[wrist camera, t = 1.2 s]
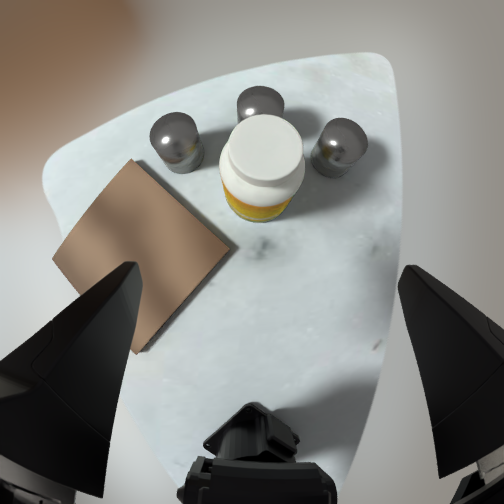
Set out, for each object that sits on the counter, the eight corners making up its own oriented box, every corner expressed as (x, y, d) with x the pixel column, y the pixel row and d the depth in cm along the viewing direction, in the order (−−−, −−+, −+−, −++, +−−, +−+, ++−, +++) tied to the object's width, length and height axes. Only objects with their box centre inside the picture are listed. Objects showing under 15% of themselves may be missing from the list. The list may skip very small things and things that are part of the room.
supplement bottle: (226, 162, 24) (217, 101, 15) (288, 164, 24) (312, 106, 15) (224, 224, 24) (211, 191, 14) (289, 225, 24) (318, 194, 14)
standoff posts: (350, 179, 24) (370, 161, 20) (162, 174, 24) (146, 154, 19) (344, 121, 25) (360, 96, 20) (169, 115, 24) (158, 89, 20)
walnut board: (139, 352, 23) (136, 354, 22) (56, 259, 23) (51, 258, 22) (230, 249, 24) (229, 248, 23) (134, 161, 24) (131, 158, 23)
